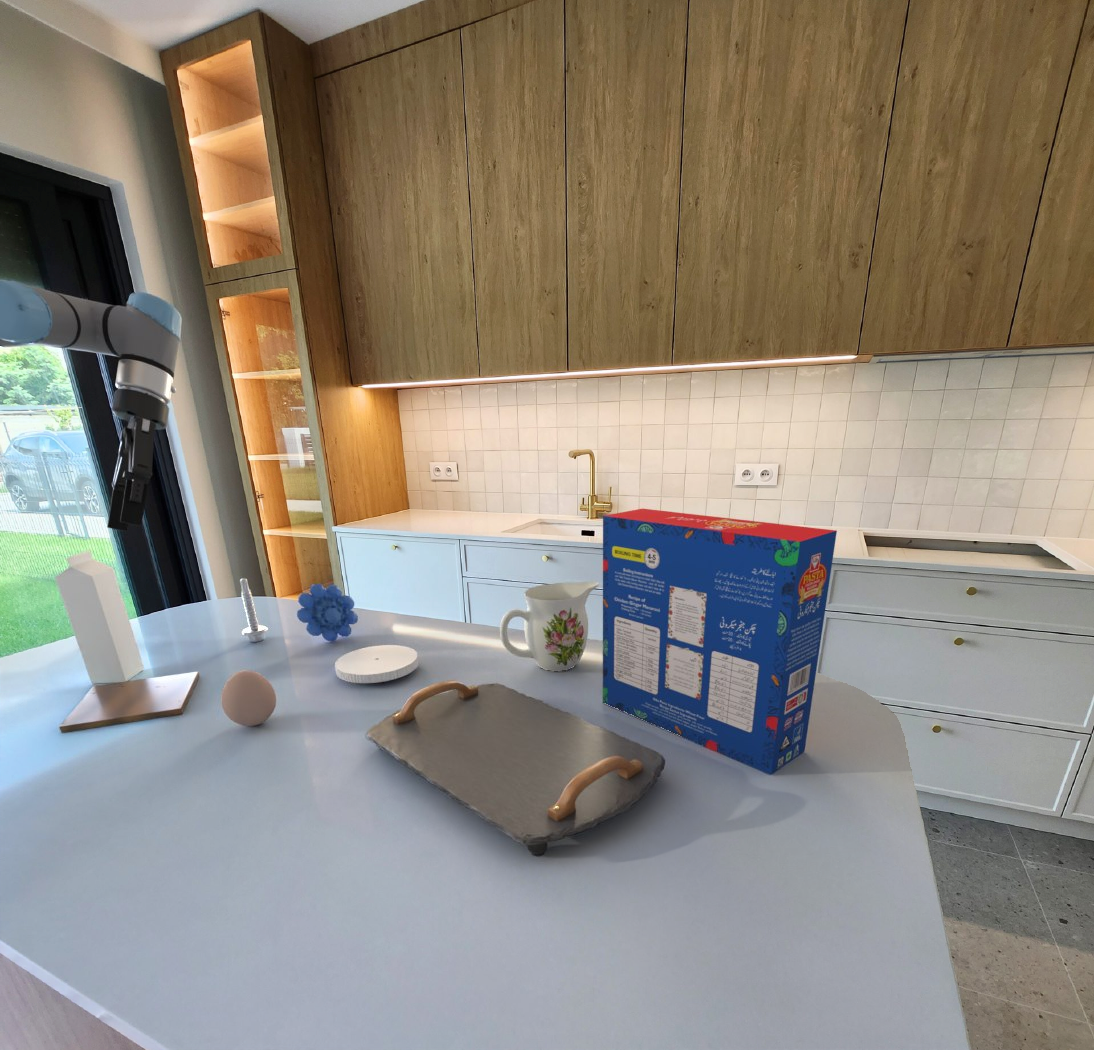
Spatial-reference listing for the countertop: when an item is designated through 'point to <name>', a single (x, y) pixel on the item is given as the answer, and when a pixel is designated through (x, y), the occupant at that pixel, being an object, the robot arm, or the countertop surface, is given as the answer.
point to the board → (132, 701)
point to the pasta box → (715, 628)
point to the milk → (99, 620)
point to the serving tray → (517, 760)
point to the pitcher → (552, 624)
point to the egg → (248, 698)
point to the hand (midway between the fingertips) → (123, 527)
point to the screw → (251, 615)
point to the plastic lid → (376, 664)
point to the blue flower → (327, 612)
